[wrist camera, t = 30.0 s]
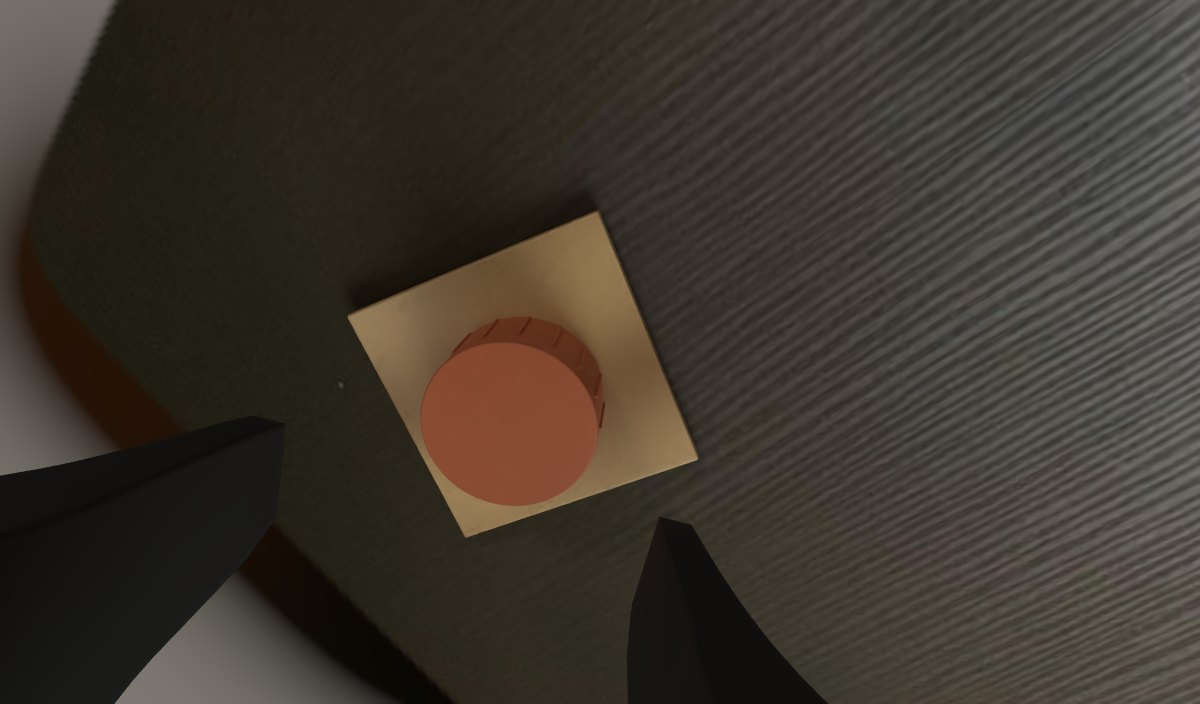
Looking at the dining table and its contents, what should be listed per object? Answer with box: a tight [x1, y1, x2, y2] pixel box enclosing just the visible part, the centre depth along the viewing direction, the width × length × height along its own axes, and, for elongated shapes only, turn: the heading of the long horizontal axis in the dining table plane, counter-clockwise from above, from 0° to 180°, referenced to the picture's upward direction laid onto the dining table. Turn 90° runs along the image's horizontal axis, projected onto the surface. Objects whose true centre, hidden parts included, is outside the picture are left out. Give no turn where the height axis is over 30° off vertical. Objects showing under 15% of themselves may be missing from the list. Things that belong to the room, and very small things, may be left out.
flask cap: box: [420, 316, 605, 506], centre depth 18 cm, size 4×4×2 cm
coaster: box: [348, 210, 698, 537], centre depth 19 cm, size 8×8×1 cm
